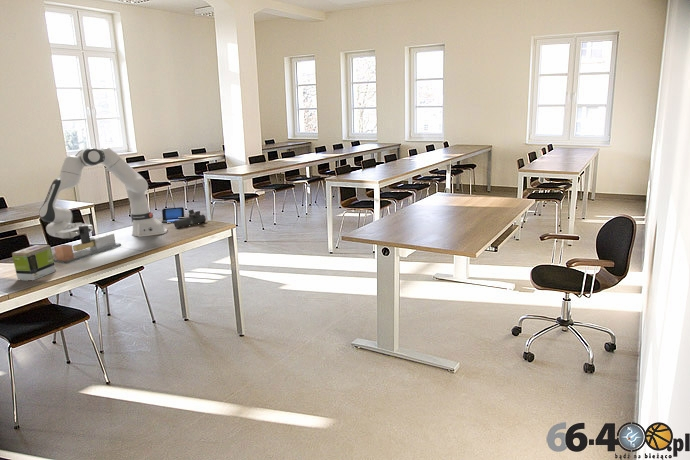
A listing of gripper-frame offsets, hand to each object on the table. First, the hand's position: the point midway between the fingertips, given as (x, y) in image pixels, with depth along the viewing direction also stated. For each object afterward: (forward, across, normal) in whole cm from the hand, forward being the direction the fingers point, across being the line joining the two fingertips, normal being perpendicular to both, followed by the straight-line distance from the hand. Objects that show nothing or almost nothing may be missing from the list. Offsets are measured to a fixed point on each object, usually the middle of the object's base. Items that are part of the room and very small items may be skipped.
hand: (85, 232), depth 306 cm
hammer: (-1, +5, +10) cm, 11 cm away
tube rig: (-1, 0, +13) cm, 13 cm away
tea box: (+10, -40, +13) cm, 43 cm away
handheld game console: (-12, +84, +14) cm, 85 cm away
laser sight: (+12, +76, +14) cm, 78 cm away
